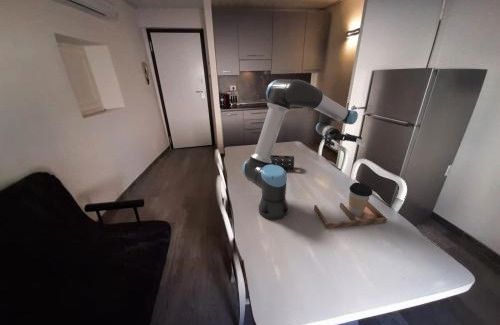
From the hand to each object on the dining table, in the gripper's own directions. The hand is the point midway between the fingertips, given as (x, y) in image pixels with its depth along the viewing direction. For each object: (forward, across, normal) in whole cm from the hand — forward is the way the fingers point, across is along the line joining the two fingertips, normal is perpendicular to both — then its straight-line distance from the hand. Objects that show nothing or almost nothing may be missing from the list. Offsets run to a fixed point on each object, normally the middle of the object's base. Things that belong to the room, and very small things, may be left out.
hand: (351, 145), depth 97 cm
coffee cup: (+15, +1, -30) cm, 33 cm away
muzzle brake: (-41, +30, -30) cm, 59 cm away
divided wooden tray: (+16, +6, -30) cm, 34 cm away
